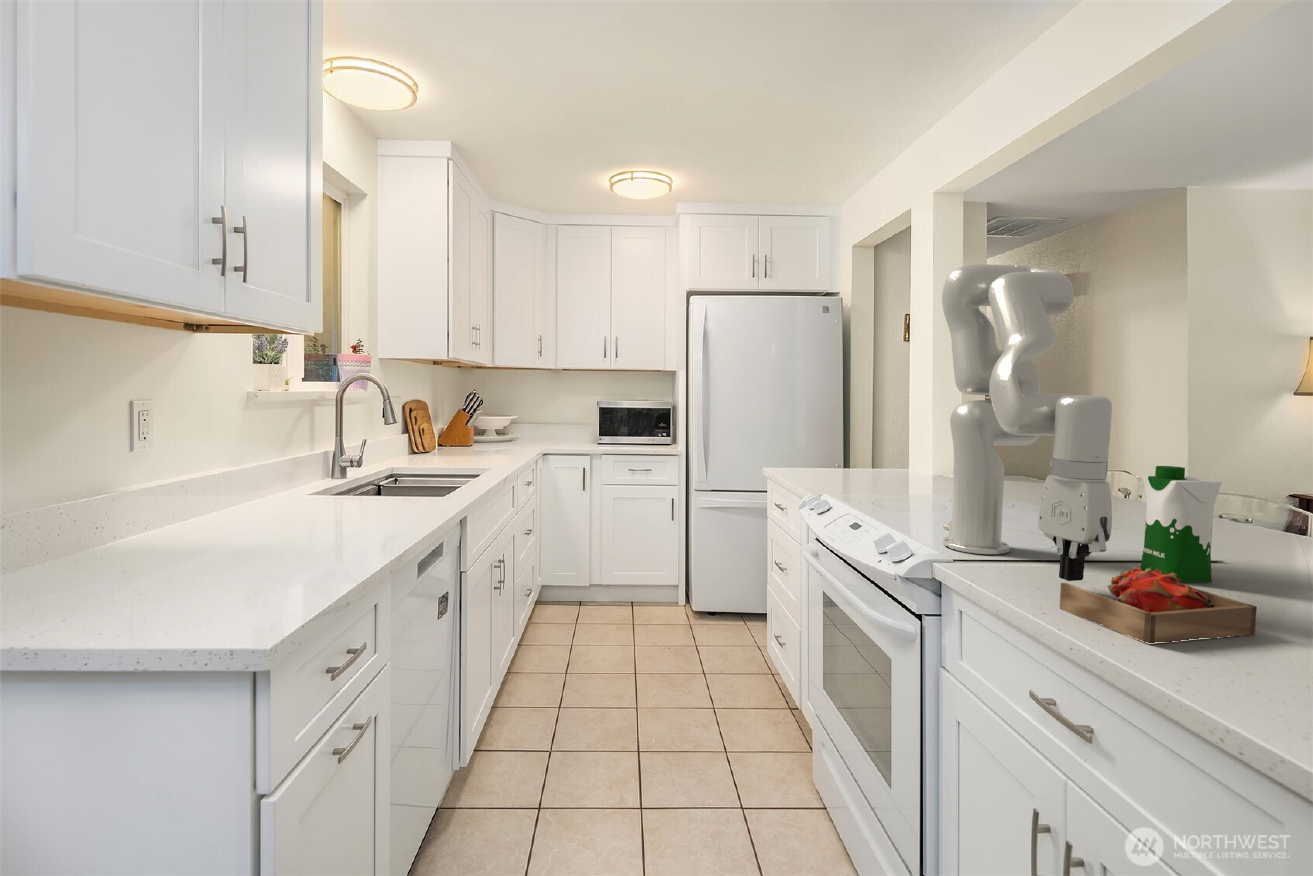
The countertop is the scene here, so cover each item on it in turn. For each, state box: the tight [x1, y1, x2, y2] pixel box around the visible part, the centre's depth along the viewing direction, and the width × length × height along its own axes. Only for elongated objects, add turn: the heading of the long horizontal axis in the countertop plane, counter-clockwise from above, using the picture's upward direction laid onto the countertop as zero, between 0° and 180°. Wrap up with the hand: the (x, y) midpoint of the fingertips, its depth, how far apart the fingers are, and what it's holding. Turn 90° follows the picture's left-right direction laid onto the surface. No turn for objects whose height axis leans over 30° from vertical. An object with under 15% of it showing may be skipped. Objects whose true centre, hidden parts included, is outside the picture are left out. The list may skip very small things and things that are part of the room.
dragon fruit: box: [1106, 566, 1214, 613], centre depth 87 cm, size 8×8×12 cm
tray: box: [1059, 582, 1258, 643], centre depth 87 cm, size 14×18×4 cm
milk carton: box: [1140, 465, 1222, 583], centre depth 108 cm, size 9×9×20 cm
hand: (1070, 578), depth 101 cm, fingers closed
